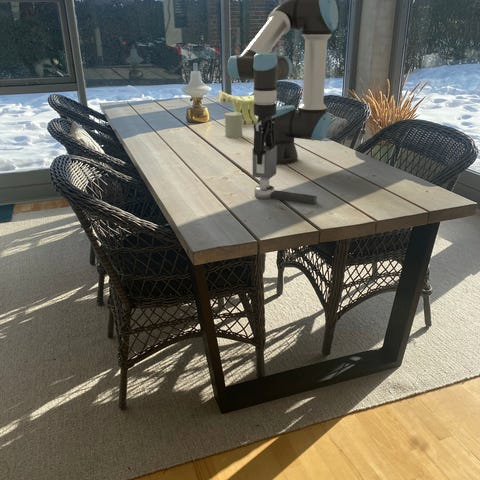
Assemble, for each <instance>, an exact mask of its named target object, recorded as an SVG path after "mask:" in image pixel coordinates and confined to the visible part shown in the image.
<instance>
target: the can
mask: <svg viewBox="0 0 480 480" xmlns="http://www.w3.org/2000/svg"><path fill="white" fill-rule="evenodd" d="M224 125H225V126H224V128H225V129H224V131H225V135H224V136H225V137H226V138H229V139H237V138H241V137H243V124H242V113H239V112H235V111H233V112H232V111H231V112H226V113H224Z"/></svg>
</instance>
